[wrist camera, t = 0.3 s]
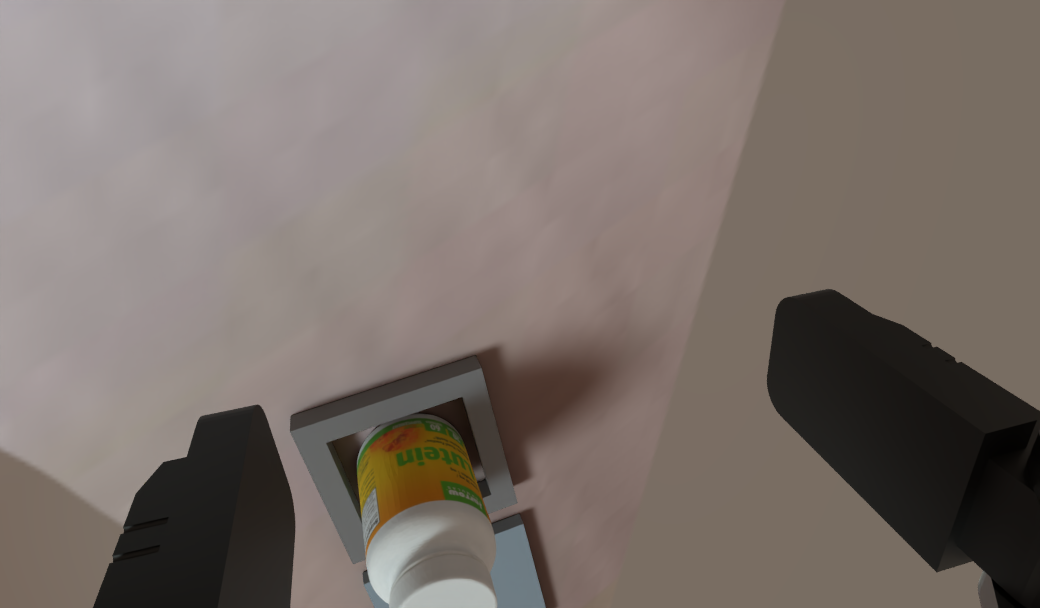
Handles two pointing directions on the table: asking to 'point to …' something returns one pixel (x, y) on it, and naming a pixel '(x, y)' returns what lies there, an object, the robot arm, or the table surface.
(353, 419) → the collar
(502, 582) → the board
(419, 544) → the supplement bottle
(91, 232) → the table surface
